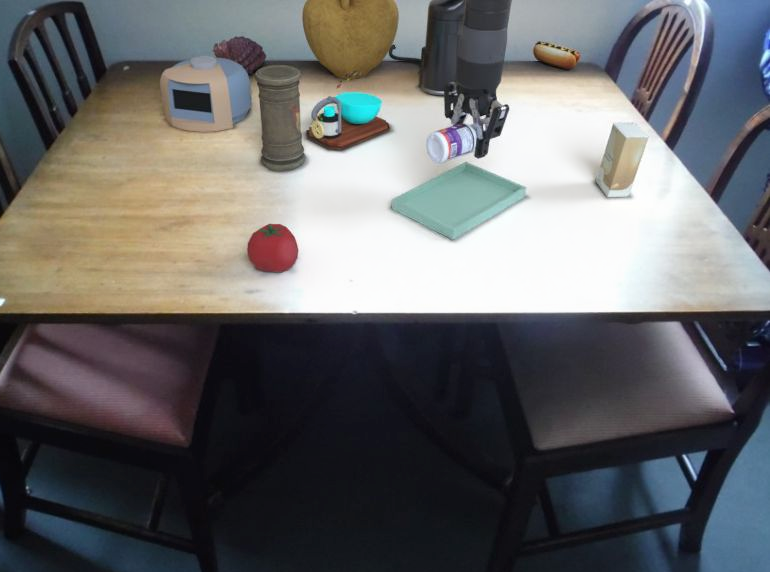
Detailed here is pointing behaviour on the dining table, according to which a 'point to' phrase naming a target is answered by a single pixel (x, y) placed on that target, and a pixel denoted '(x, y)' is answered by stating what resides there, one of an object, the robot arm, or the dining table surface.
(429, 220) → the tray
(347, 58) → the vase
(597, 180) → the cosmetic box
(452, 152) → the pill bottle
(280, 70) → the container
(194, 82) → the alarm clock
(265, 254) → the tomato
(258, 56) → the pine cone
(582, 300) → the dining table surface
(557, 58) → the hot dog
